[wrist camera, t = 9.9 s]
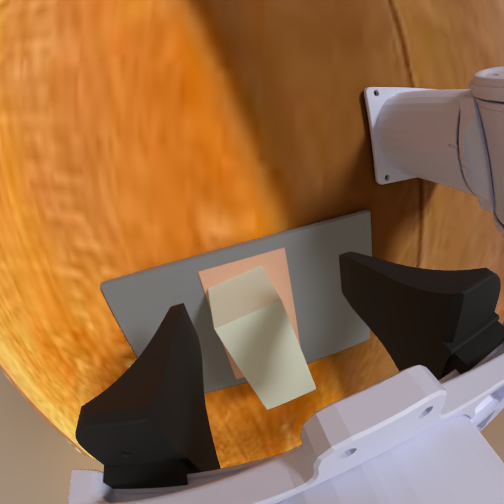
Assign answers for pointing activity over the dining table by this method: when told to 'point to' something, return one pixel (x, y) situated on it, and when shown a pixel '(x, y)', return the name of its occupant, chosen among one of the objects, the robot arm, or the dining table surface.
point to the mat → (282, 277)
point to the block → (260, 337)
